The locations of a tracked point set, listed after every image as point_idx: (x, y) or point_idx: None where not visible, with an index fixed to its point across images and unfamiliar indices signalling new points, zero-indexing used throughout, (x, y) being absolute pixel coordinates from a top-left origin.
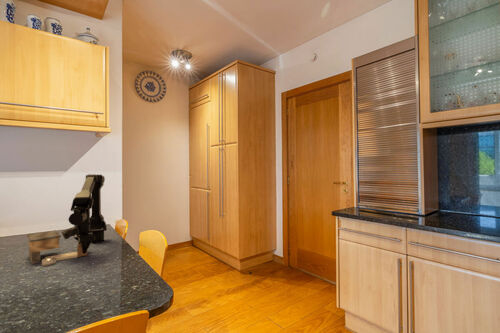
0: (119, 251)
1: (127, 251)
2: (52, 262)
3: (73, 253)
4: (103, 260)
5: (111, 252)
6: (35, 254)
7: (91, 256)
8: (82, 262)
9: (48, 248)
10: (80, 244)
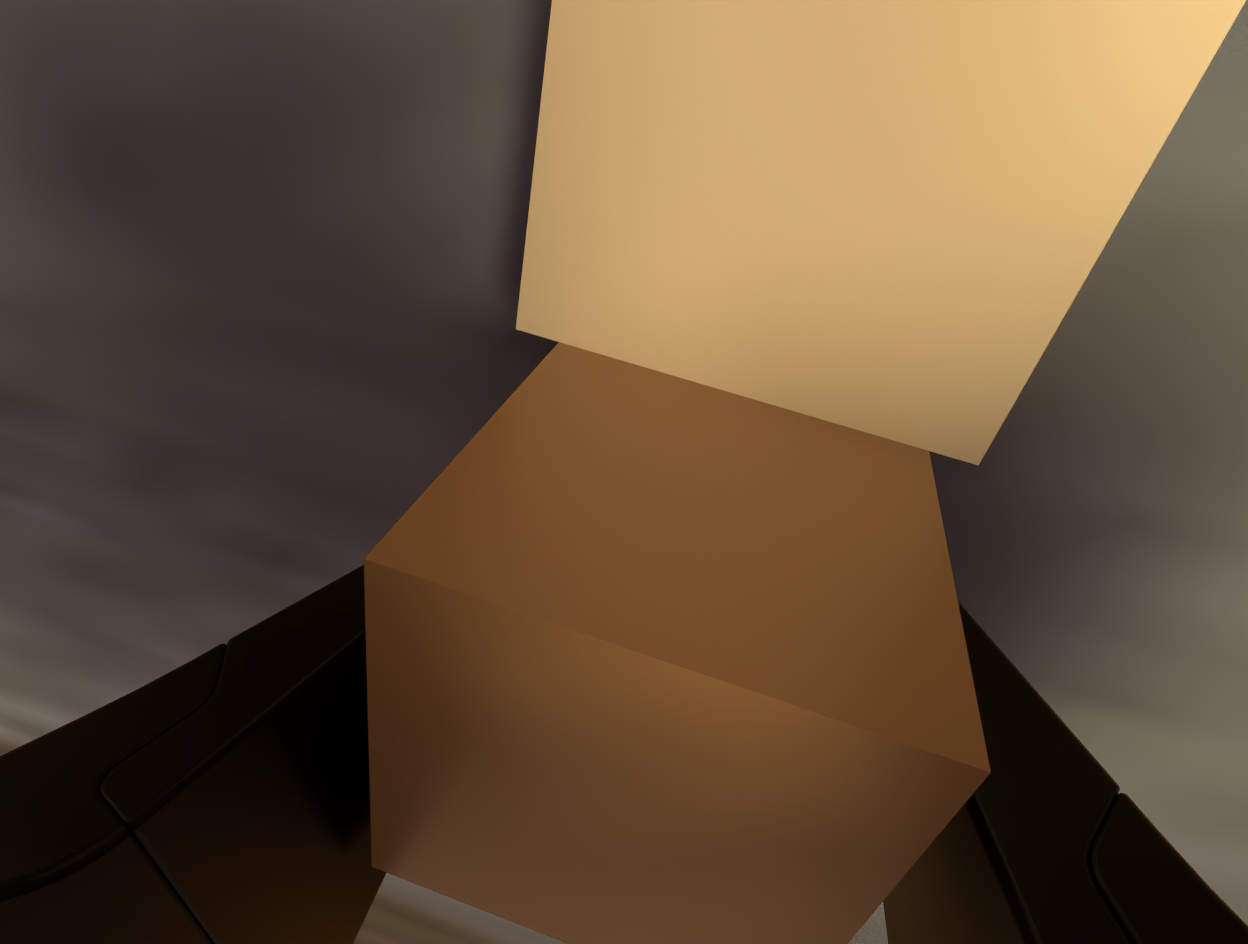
0: (459, 905)
1: (380, 931)
2: None
3: (847, 251)
4: (41, 605)
5: None
6: None
7: None
8: (31, 285)
9: None
10: (738, 817)
